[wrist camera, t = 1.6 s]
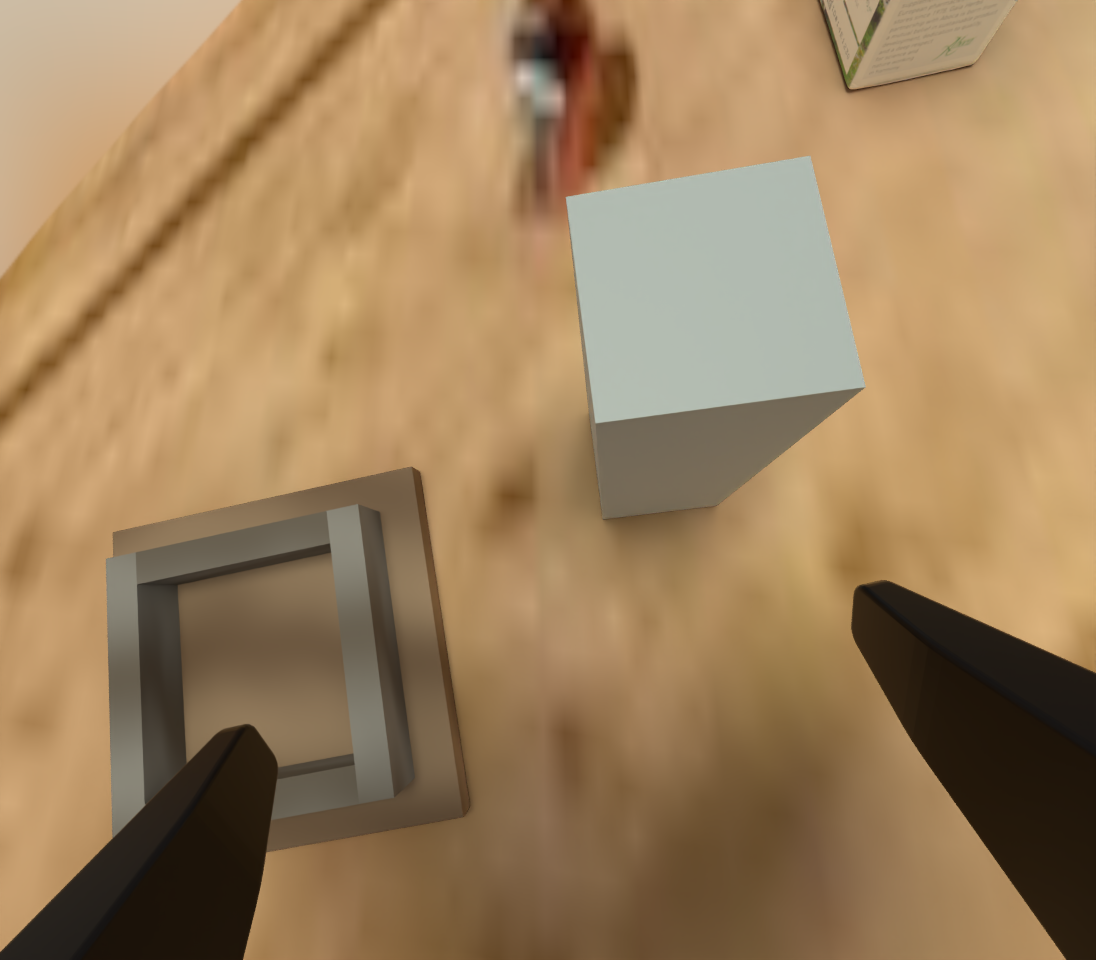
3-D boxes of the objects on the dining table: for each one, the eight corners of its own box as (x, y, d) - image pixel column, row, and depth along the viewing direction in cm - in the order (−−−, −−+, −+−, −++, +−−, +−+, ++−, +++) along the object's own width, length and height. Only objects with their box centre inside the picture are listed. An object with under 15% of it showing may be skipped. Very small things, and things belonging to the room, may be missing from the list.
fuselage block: (716, 505, 22) (865, 387, 9) (602, 519, 22) (595, 423, 10) (698, 397, 23) (810, 155, 10) (589, 412, 23) (565, 196, 11)
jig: (470, 806, 21) (447, 841, 18) (143, 864, 22) (70, 907, 19) (419, 471, 23) (393, 454, 21) (132, 534, 24) (67, 526, 21)
